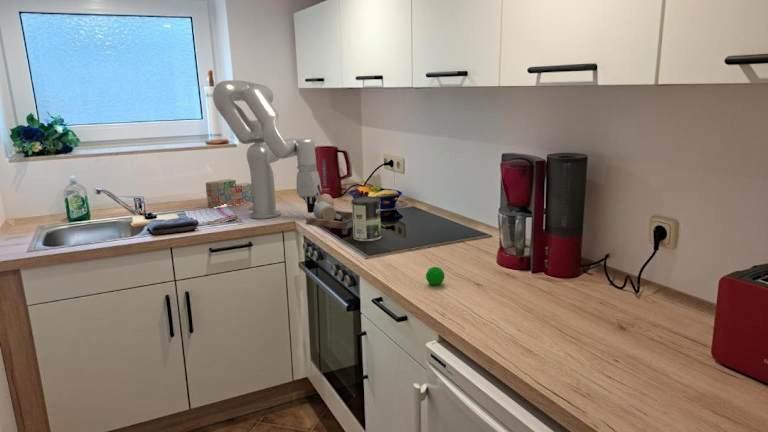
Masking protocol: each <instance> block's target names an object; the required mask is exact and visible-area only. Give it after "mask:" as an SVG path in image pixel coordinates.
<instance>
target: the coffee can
mask: <svg viewBox="0 0 768 432" xmlns="http://www.w3.org/2000/svg"><path fill="white" fill-rule="evenodd" d="M380 201H381V198H379V197H376V196H363V197H361V196H360V197H356V198H353V199H351V209H352V211H351V212H352V214H353V227H352V228H353V230H352V231H353V233H352V234H353V237H352V239H354V240H355V241H359V242H372V241H377V240H380V239H381V238H382V222H381V219H382V217H381V204H380Z"/></svg>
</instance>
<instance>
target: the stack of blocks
mask: <svg viewBox="0 0 768 432" xmlns="http://www.w3.org/2000/svg"><path fill="white" fill-rule="evenodd" d="M205 191H206V199H207V207H209V209H211V208H214V207H217V206H221V205H224V204H227V205H236V204H241V203H246V204H248V203H247V202H252V203H253V196H252V184H251V182H240V183H236V180H235V179H232V178H231V179H230V178H226V179H220V180H214V181H209V182H205ZM241 205H242V204H241ZM236 206H237V205H236Z"/></svg>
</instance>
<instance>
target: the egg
mask: <svg viewBox="0 0 768 432" xmlns="http://www.w3.org/2000/svg"><path fill="white" fill-rule="evenodd" d="M321 201H324V202H326V203H328V204H330V205H331V206H333V207H334V206H335V202H334V199H333V198H332V196H331V195H330V194H328V193H323V194H321V198H320V199H317V203H318V202H321ZM334 208H335V207H334Z"/></svg>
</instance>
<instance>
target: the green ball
mask: <svg viewBox="0 0 768 432" xmlns="http://www.w3.org/2000/svg"><path fill="white" fill-rule="evenodd" d="M427 270H428V271H427V272H426V274H425V279H426V281H427V282H428V284H430V285H432V286H438V285H441V284H442V283H443V281H444V280H445V273H444V270H443V269H442V268H440V267H438V266H433V267H431V268H430V267H429V268H428V269H427Z"/></svg>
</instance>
